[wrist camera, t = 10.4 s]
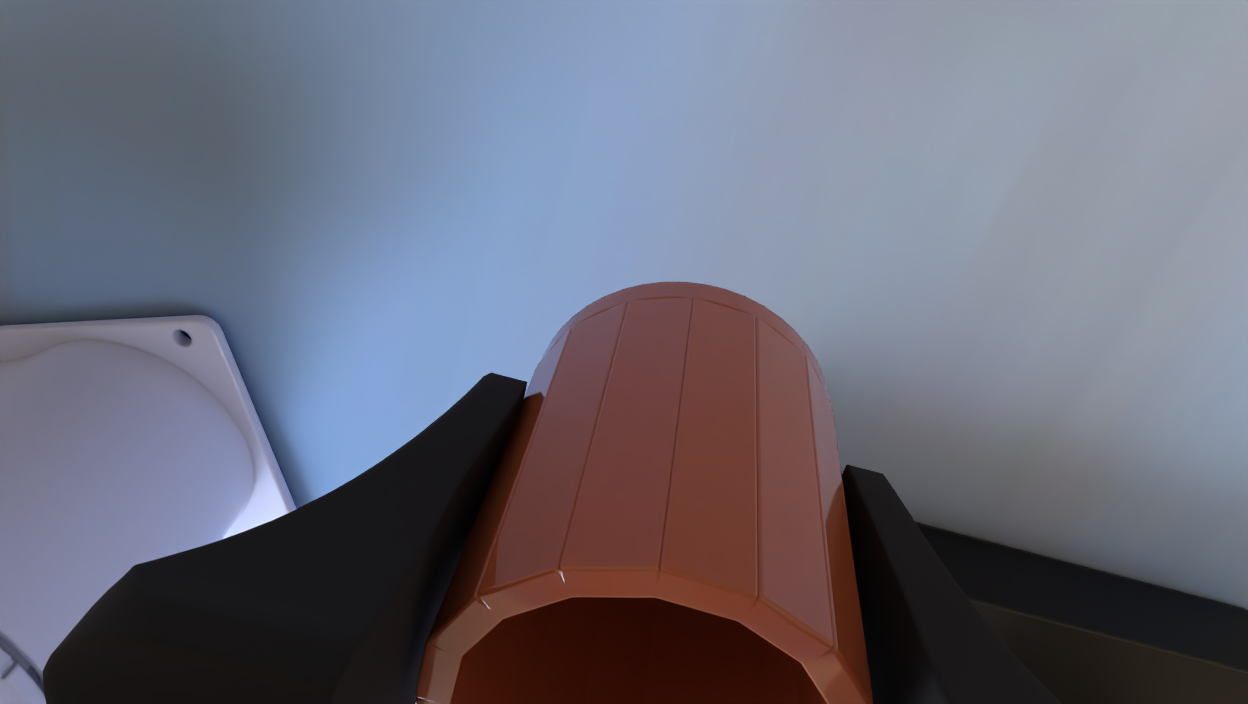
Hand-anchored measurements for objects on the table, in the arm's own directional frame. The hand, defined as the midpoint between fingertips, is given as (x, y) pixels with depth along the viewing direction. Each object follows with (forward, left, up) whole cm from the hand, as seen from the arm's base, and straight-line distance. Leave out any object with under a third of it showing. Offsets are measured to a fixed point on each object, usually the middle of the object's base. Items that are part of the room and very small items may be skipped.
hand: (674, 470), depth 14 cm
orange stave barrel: (0, 0, -2) cm, 2 cm away
